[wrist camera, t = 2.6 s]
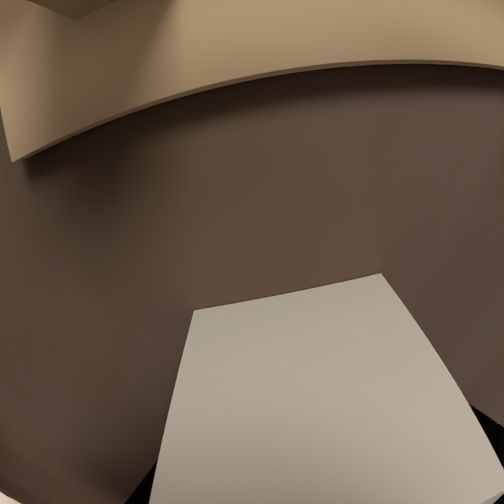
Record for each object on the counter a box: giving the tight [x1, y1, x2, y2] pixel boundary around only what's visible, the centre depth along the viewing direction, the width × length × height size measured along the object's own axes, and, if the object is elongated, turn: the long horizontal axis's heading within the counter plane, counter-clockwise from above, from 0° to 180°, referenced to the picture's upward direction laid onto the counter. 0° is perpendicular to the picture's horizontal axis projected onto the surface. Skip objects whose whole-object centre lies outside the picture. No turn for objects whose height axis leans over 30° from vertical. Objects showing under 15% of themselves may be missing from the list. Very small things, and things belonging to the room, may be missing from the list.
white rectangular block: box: [149, 273, 504, 504], centre depth 6 cm, size 5×5×7 cm
